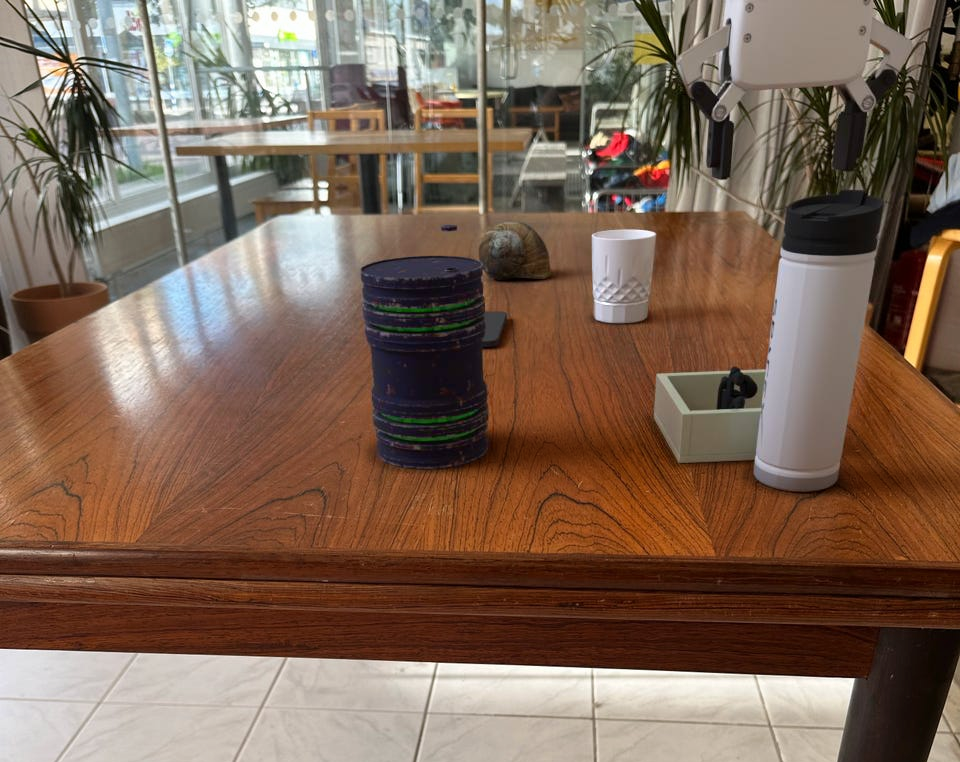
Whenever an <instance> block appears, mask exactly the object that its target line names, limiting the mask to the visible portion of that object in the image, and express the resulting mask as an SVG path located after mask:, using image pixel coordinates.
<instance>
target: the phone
mask: <svg viewBox="0 0 960 762" xmlns="http://www.w3.org/2000/svg"><path fill="white" fill-rule="evenodd" d="M484 318H485V325H486V328H485V336H484V338H483V339H482V348H492V347H496V346H498V344H499V343H500V340H501V337H502V333H503V332H504V329H505V326H506V323H507V319H508V313H507V312H506V311H500V310H499V311H498V310H497V311H496V310H494V311H493V310H490V311H488V310H487V311H486V310H485V314H484Z"/></svg>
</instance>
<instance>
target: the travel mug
mask: <svg viewBox="0 0 960 762" xmlns="http://www.w3.org/2000/svg"><path fill="white" fill-rule="evenodd" d="M869 192H870V191H869V190H868V189H867V190H866V189H848V188H847V189H846V188H843V189H840V190H839V192H838V193H830V194H820V195H814V196H808V197H804V198H801V199H798V200H795V201H792V202H791V203H790V204H788V205H787V207H786V210H785V218H784V227H783V233H784V236H783V238H782V243H781V246H780V251H779V253H780V256H781V258H779V260H778V268H777V277H776V285H775V294H774V301H773V309H772V317H771V325H770V332H769V333H770V334H769V342H768V350H767V358H766V367H765V369H766V374H765V382H764V390H763V398H762V406H761V414H760V422H759V431H758V439H757V447H756V456H755V460H754V465H753V476H754V477H755V479H756V480H757V481H758V482H759V483H761V484H763V485H764V486H767V487H769V488H773V489H776V490H781V491H784V492H785V491H786V492H793V493H809V492H810V493H811V492H817V491H822V490H825V489H828V488H830V487H831V486H833V485H834V484H835V483H836V482H837V481H838V479H839V472H840V467H841V459H842V455H843V449H844V445H845V444H844V443H845V437H846V431H847V426H848V422H849V421H848V420H849V414H850V410H851V402H852V397H853V391H854V385H855V381H856V374H857V369H858V368H857V367H858V364H859V357H860V351H861V345H862V339H863V334H864V328H865V323H866V317H867V311H868V304H869V299H870V293H871V287H872V281H873V277H874V270H875V264H876V260H875V258H876V256H877V253H878V252H877V251H878V242H879V239H878V235H879V233H880V231H881V230H880V229H881V224H882V218H883V212H884V207H885V202H884V200H883V199H881V197H878V196H873V195H869Z"/></svg>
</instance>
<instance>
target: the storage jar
mask: <svg viewBox="0 0 960 762" xmlns="http://www.w3.org/2000/svg"><path fill="white" fill-rule="evenodd" d="M440 230H441V232H457V231H458V225H457V224H446V225H445V224H444V225H441V226H440ZM359 271H360V281H361V282H362V284H363V286H362V289H361V291H362V292H361V293H362V301H363V302H362V304H361V305H362V307H361V308H362V315H363V316H362V317H363V321H365V322H364V326H365V330H364V335H365V336H366V342H367V343H368V345H369V346H370V356H371V357H370V358H371V366H372V377H373V378H372V379H373V386H372V388H371V390H370V391H371V397H370V399H371V403H372V410H371V411H372V421H373V422H372V423H373V426H374V428H375V436H376V438H377V440H378V441H377V445H376V450H377V455H378V457H379V458H380V459H381V460H382V461H383V462H386V463H387V464H390V465H392V466H395V467H400V468H405V469H417V470H429V469H430V470H433V469H434V470H435V469H445V468H452V467H457V466H462V465H466V464H469V463H471V462H473V461H476V460H478V459H480V458H482V457H483V456H484V455H486V453H487V452H488V450H489V439H488V437H487V432H488V429H489V428H488V421H489V416H490V414H489V403H488V396H489V392H488V385H487V383H486V381H485V380H484V357H483V347H482V339H483V338H484V336H485V328H486V325H485V318H484V314H485V311H486V297H485V296H484V283H483V281H482V277H483V274H484V270H483V264H482V262H480V261H479V259H476V258H471V257H466V256H456V255H413V256H403V257H394V258H388V259H383V260H377V261H373V262H370V263H367V264H365V265H363V266H361V267H360V269H359Z"/></svg>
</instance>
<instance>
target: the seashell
mask: <svg viewBox="0 0 960 762" xmlns="http://www.w3.org/2000/svg"><path fill="white" fill-rule="evenodd" d="M478 260H479V261H480V262H482V264H483V273H485V274H486V275H487V276H488V277H490V278H491V279H494V280H498V281H507V280H511V279H516V278H519V279H521V278H522V279H523V278H524V279H537V280H542V279H543V280H544V279H547V278H549V277H550V276H552V275H553V272H552V269H551V264H550V256H549V250H548V248H547V246H546V243H545V241H544V240H543V239H542V237H541V236H540V234H539V233H538V232H537V231H536V230H535V229H534V228H533V227H532V226H530V225H529V224H527V223H524V222H521V221H519V220H511V221H510V220H509V221H503V222H499V223H497V224H496V225H494V226H492V227H490V228H489V229H488V230H487V231H486V232H485V233H484V235H483V236H482V238H481V240H480V242H479V245H478Z"/></svg>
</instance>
